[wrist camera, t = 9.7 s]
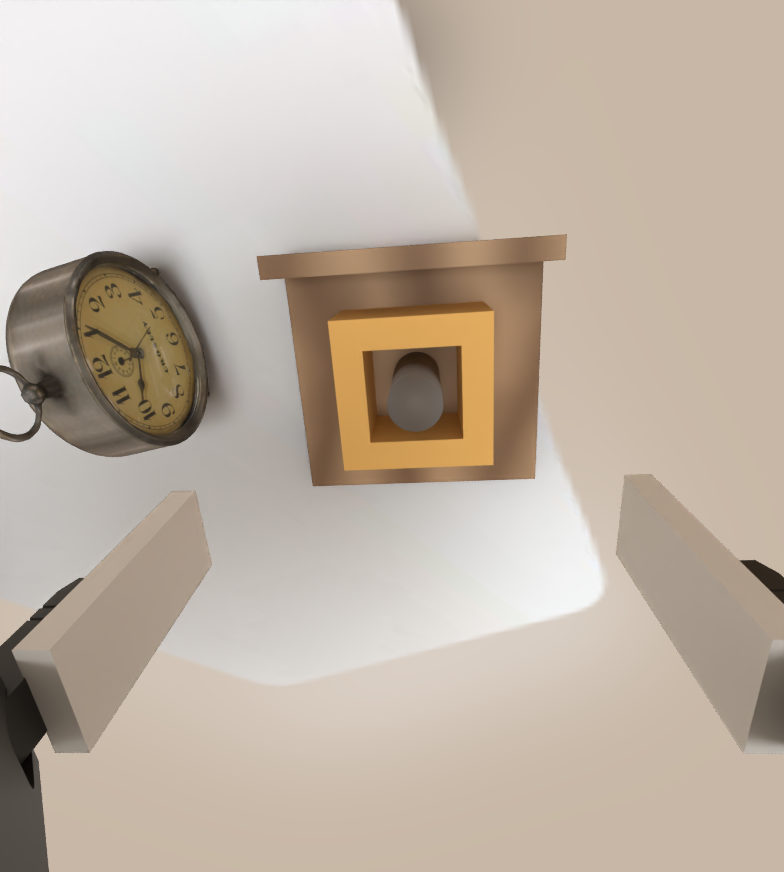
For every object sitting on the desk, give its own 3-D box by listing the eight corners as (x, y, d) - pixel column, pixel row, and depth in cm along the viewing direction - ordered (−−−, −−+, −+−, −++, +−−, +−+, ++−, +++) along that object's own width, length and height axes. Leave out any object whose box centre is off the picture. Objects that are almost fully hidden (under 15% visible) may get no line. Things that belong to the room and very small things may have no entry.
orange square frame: (354, 440, 35) (344, 470, 31) (341, 310, 32) (327, 321, 27) (483, 435, 34) (493, 464, 30) (483, 301, 31) (493, 311, 27)
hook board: (316, 479, 38) (289, 538, 30) (286, 254, 32) (243, 257, 24) (531, 471, 37) (560, 531, 29) (539, 236, 31) (578, 233, 23)
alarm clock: (234, 404, 36) (97, 519, 21) (166, 421, 37) (-13, 543, 22) (172, 247, 32) (-47, 249, 17) (99, 270, 33) (-172, 290, 18)
